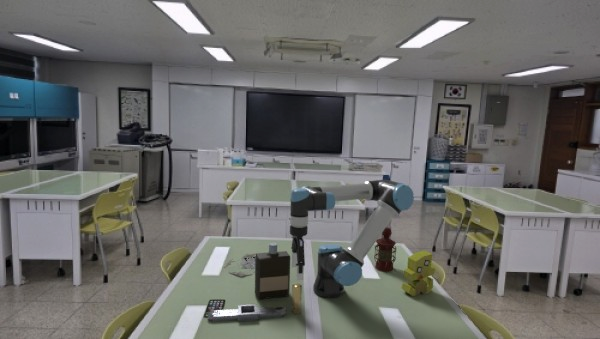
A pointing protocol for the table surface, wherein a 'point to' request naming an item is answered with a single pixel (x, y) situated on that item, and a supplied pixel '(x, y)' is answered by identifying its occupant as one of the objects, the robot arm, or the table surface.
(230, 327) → the table surface
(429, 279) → the toy
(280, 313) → the grey metal bar device
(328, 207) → the robot arm
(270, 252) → the bottle
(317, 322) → the table surface
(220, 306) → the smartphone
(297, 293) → the pin
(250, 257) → the stone slab
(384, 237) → the lantern
